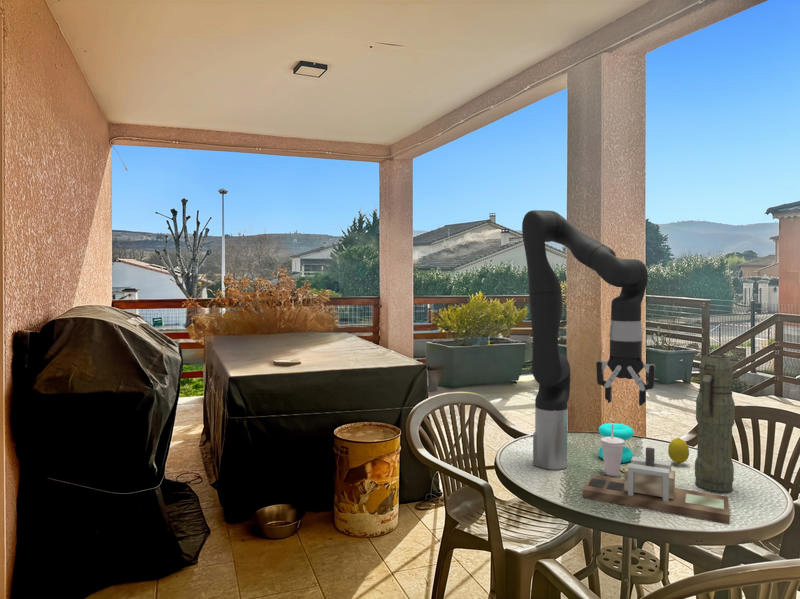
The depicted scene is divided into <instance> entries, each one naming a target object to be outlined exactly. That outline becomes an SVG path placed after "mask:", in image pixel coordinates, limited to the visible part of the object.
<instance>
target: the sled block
mask: <svg viewBox="0 0 800 599" xmlns="http://www.w3.org/2000/svg"><path fill="white" fill-rule="evenodd" d="M655 452H656V450H655V448H653V447H645V458H646V466H651V467H654V459H655V454H656V453H655ZM629 464H630V463H627V465H626V466H625V469H624V480H625V485H624V491H628V466H629ZM675 488H676V470H673V469H671V470H670V474H669V498H670V499H674V493H675ZM634 492H635V493H641V494H647V495H653V496H659V497H663V477H662V476H656V475H649V474H643V473H636V472H634Z"/></svg>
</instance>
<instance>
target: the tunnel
mask: <svg viewBox="0 0 800 599" xmlns="http://www.w3.org/2000/svg"><path fill="white" fill-rule="evenodd" d="M628 464H629V466H628V495H630V496H633V495H634V472H636V473H643V474H649V475H656V476H662V477H663V501H664V502H669V474H670V470H672V461H668V460H661V459H656V458H654V467H651V466H646V457H640V456H633V457H632V459H631V461H630V462H629V463H628Z"/></svg>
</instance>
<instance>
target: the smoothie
mask: <svg viewBox="0 0 800 599" xmlns="http://www.w3.org/2000/svg"><path fill="white" fill-rule="evenodd" d="M613 434H614V424H612V425H611V437H603V436H602V437H601V438H600V444H601V447H602V450H603V458H604V459H603V464H604V473H605V475H607V476H610V477H611V476H612V477H616V476H617V477H618V476H620V471H621V464H622V463H621V458H622V451H623V446H625V440H623V439H620V438H617V437H613Z"/></svg>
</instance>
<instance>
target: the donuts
mask: <svg viewBox="0 0 800 599" xmlns="http://www.w3.org/2000/svg"><path fill="white" fill-rule="evenodd" d="M612 424H614V434H613V437H617V438H620V439H623V440H624V441H629V440H630V439H632V438H633V436H634V435H635V432H634V429H633V428H632V427H631V426H630V425H627V424H622V423H614V422H609V423H608V422H606V423H603V424H601V425H600V426H599V427H598V434H600V435H601V436H602V438H603V437H611V425H612ZM598 455H599V457H600V459H603V460H604V458H603V450H602V446H600V447H599V449H598ZM634 455H635V454H634V452H633V451H632V450H631V449H630V448H628V447H627V446H625V445H624V446H623V451H622V458H621V464H622V463H623V464H624V463H630V462H631V459H632V457H633V456H634ZM634 457H635V456H634Z"/></svg>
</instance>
